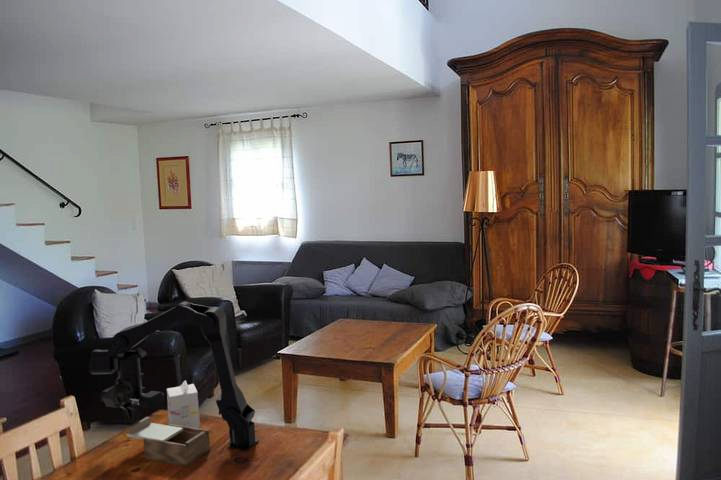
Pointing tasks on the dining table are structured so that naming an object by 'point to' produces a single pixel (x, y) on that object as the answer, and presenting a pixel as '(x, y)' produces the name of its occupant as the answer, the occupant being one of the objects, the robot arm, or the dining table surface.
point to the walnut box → (179, 447)
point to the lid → (152, 430)
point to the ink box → (183, 405)
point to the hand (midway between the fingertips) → (134, 425)
